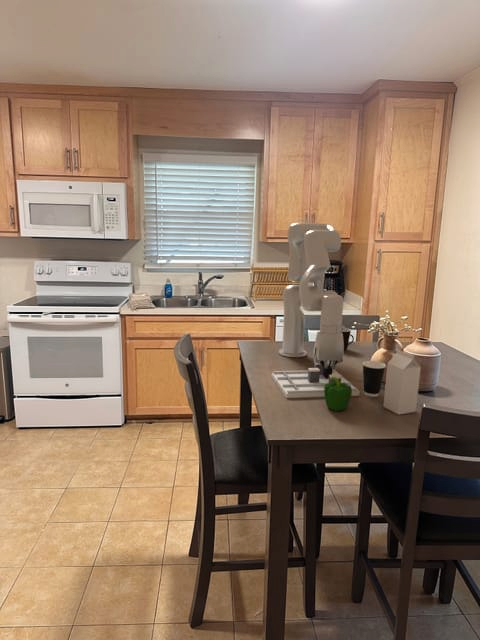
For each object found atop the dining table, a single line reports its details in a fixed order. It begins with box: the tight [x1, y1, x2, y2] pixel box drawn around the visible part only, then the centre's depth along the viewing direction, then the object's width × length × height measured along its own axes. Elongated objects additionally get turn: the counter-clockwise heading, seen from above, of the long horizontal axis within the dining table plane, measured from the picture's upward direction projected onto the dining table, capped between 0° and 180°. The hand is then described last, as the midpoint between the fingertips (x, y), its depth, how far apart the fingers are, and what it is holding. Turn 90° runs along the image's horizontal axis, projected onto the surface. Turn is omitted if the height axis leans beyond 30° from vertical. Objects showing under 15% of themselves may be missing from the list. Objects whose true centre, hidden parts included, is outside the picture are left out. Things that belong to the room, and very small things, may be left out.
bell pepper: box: [324, 377, 352, 412], centre depth 144 cm, size 8×8×10 cm
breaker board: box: [271, 369, 360, 399], centre depth 165 cm, size 22×26×2 cm
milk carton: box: [383, 349, 422, 415], centre depth 143 cm, size 7×7×19 cm
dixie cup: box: [361, 360, 387, 397], centre depth 157 cm, size 8×8×11 cm
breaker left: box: [313, 361, 323, 375], centre depth 173 cm, size 2×4×5 cm, turn 99°
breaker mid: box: [307, 367, 320, 382], centre depth 164 cm, size 2×4×5 cm, turn 99°
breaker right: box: [329, 374, 341, 383], centre depth 157 cm, size 2×4×5 cm, turn 99°
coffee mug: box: [342, 327, 355, 352], centre depth 213 cm, size 12×9×10 cm
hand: (327, 377), depth 165 cm, fingers closed
